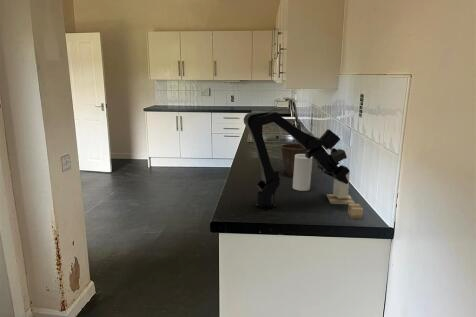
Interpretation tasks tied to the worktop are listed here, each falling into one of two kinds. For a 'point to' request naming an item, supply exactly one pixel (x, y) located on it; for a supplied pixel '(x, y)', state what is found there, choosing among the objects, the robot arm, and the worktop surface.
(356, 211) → the oak block
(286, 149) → the plant pot
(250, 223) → the worktop surface
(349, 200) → the trivet
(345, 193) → the tea caddy
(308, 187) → the cup
